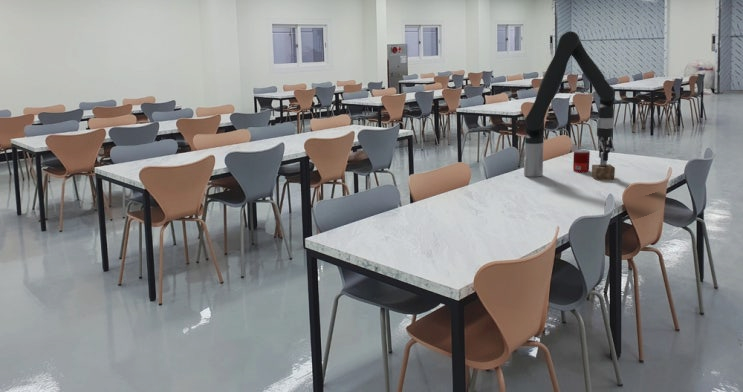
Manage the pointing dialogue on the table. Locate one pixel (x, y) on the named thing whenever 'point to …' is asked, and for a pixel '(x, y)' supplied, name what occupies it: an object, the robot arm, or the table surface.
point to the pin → (603, 163)
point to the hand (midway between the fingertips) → (603, 159)
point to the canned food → (581, 160)
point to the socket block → (603, 172)
